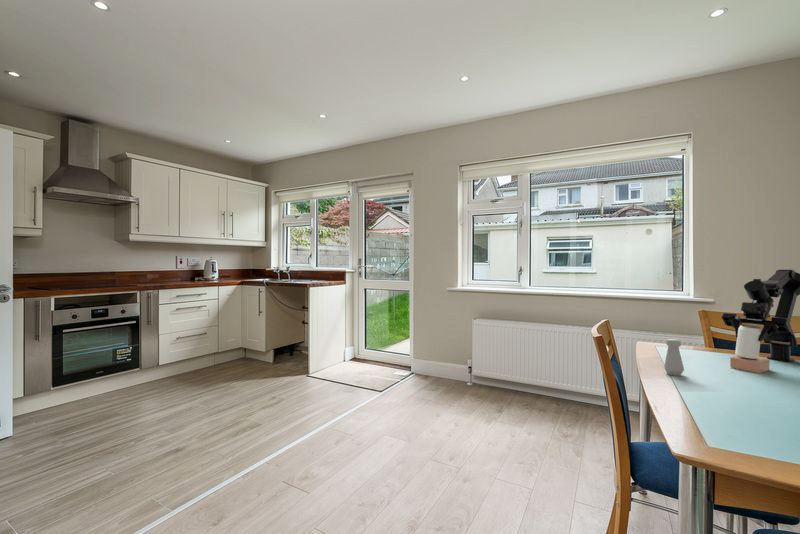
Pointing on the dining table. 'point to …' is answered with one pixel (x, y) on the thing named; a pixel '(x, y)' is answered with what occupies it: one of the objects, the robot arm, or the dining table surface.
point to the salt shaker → (673, 358)
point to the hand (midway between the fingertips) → (747, 339)
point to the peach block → (750, 364)
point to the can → (748, 341)
